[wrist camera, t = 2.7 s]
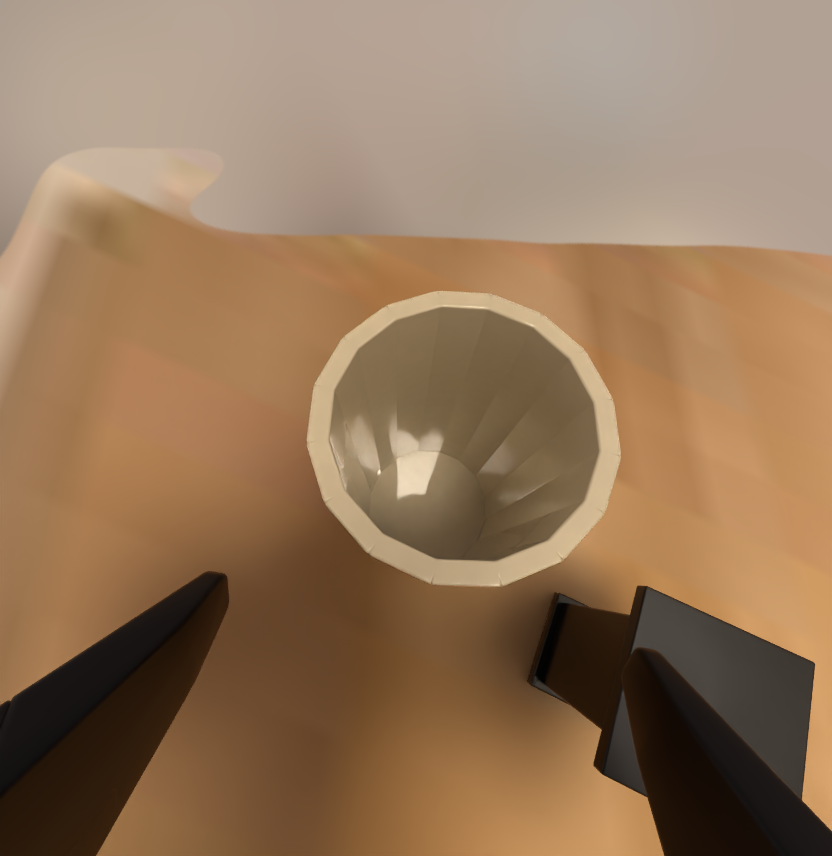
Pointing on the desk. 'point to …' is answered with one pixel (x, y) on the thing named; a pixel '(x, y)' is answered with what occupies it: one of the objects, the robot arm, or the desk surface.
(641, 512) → the desk surface
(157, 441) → the desk surface
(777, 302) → the desk surface
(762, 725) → the leg piece
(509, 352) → the pen pot
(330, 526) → the desk surface
